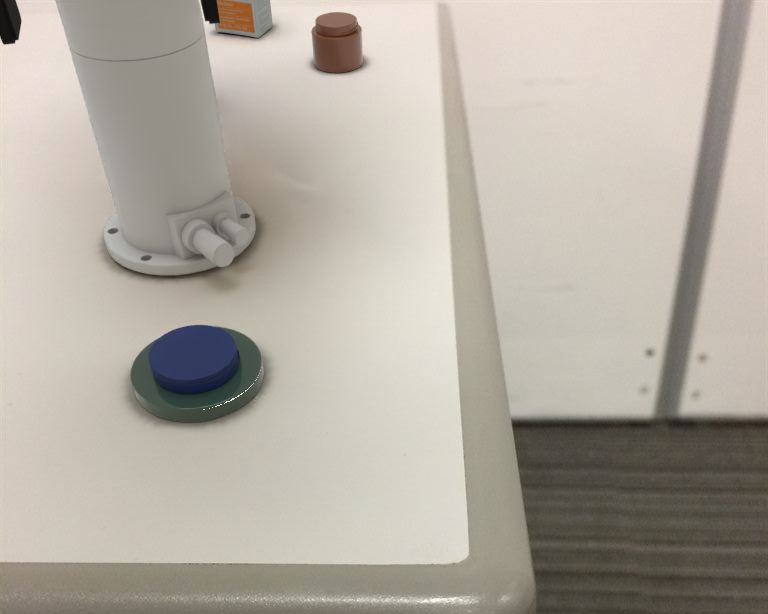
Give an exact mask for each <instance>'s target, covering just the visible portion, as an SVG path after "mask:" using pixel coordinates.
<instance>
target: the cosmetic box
mask: <svg viewBox="0 0 768 614" xmlns="http://www.w3.org/2000/svg"><path fill="white" fill-rule="evenodd" d="M217 6H218V12H219V19H220V23H215V24H214V28H215V32H217V33H225V34H233V35H239V36H246V37H252V38H255V39H259V38H260V37H261V36H263V35H265V34H266V33H267V31H269V30H270V29H271V28H273V26H274V25H273V16H272V15H273V14H272V5H271V0H217Z"/></svg>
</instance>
